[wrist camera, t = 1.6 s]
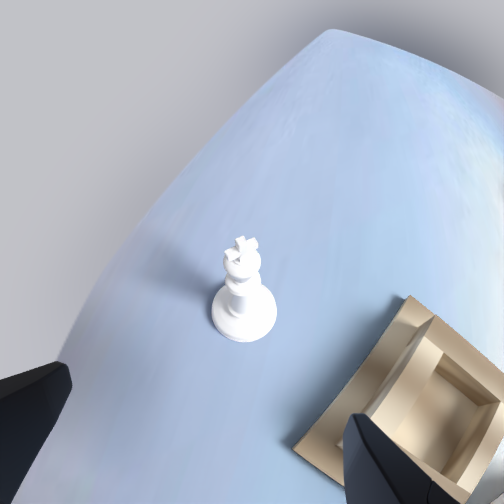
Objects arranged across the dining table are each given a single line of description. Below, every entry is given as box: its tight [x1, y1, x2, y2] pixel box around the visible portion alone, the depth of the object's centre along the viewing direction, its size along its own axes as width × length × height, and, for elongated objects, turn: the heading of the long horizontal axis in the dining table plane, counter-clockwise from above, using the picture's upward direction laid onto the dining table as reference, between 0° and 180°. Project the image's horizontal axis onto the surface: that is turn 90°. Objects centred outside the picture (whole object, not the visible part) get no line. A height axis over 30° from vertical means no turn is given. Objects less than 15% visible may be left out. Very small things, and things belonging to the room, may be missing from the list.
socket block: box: [292, 295, 504, 504], centre depth 18 cm, size 15×15×4 cm
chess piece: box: [212, 236, 277, 342], centre depth 20 cm, size 5×5×10 cm
